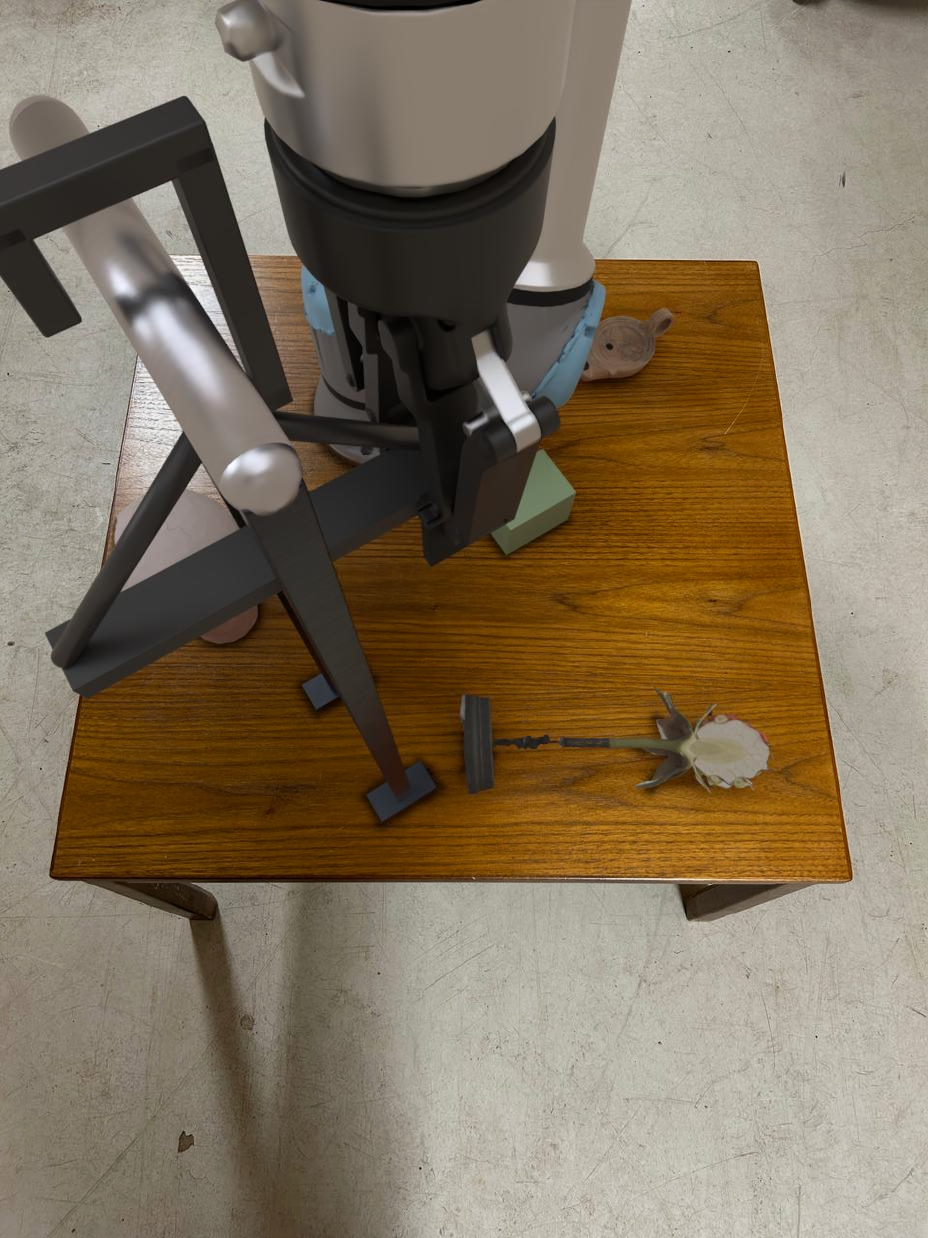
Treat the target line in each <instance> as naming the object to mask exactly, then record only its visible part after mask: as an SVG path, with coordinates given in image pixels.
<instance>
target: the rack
mask: <svg viewBox="0 0 928 1238" xmlns="http://www.w3.org/2000/svg"><path fill="white" fill-rule="evenodd" d="M8 122H9V123H8V130H9V131H8V132H9V137H10V142H11V144H12V146H13V149H14V151H15V153H16V154H17V156H18V158H19V159H20V161H23V160H25V159H28V158H30V157H32V156H35V155H37V154H40V153H42V152H45V151H47V150H50V149H52V148H55V147H57V146H60V145H62V144H65V143H67V142H70V141H72V140H75V139H77V138H79V137H82V136H84V135H87V134H89V133H91V132H90V131H89V130H88V128H87V126H86V124H85V123H84V122H83V120H82V119H81V117H80V116H79V115H78V114H77V113H76V111H75V110H74V109H73V108H72V107H70V106H69V105H68V104H66V103H65V102H63V101H61V100H60V99H57V98H56V97H53V96H50V95H42V94H41V95H40V94H38V95H37V94H36V95H31V96H27V97H25V98H23V99H22V100H20V101H19V102H18V103H17V104H16V106H15V107H14V108H13V110H12V113H11V115H10V116H9V121H8ZM60 229H62V231H63V233H64V235H65V236H66V237H67V240H68V241H69V243H70V245H71V246H72V249H74V251H75V252H76V255H77V257H79V259H80V261H81V263H82V264H83V266H84V267H85V269H86V271H87V273H88V274H89V276H90V278H91V279H92V281H93V283H94V284H95V287H97V289H98V291H99V293H100V295H101V296H102V297H103V299H104V302H106V304H107V306H108V308H109V309H110V312H111V313H112V314H113V315H114V317H115V319H116V322H118V324H119V326H120V328H121V329H122V332H123V333H124V334H125V336H126V337H127V339H128V341H129V343H130V344H131V346H132V348H133V349H134V351H135V353H136V355H137V356H138V357H139V359H140V361H141V363H142V364H143V366H144V368H145V370H146V371H147V372H148V374H149V376H150V378H151V379H152V381H153V383H154V384H155V386H156V388H157V389H158V391H159V392H160V394H161V397H163V399H164V401H165V402H166V404H167V406H168V408H169V409H170V411H171V413H172V414H173V416H174V418H175V419H176V421H177V423H178V425H179V426H180V429H181V430H182V432H183V431H184V433H185V434H186V436H187V437H188V439H189V441H190V442H191V444H192V446H193V447H194V449H195V451H196V452H197V454H198V456H199V457H200V459H201V461H202V463H201V465H202V467H203V469H204V470H205V472H206V474H207V476H208V477H209V479H210V481H211V483H212V484H213V486H214V488H215V489H216V491H217V494H218V495H219V497H220V498H221V501H222V502H223V503H224V505H225V507H226V510H227V511H228V513H229V514H230V515H231V516H232V517H233V519H234V521H235V523H236V525H237V526H238V528H239V529H241V528H242V527H244V526H246V525H247V526H248V528H249V530H250V532H251V534H252V535H253V537H254V539H255V541H256V543H257V545H258V547H259V548H260V550H261V552H262V554H263V556H264V558H265V559H266V561H267V563H268V565H269V567H270V569H271V570H272V572H273V574H274V576H275V578H276V580H277V581H278V583H279V585H280V587H281V589H282V591H281V592H279V593H277V594H275V595H276V596H277V598H278V600H279V602H280V604H281V606H282V607H283V609H284V611H285V612H286V614H287V616H288V618H289V619H290V621H291V623H292V625H293V626H294V628H295V630H296V631H297V633H298V635H299V637H300V639H301V640H302V642H303V644H304V646H305V647H306V649H307V651H308V652H309V654H310V656H311V658H312V659H313V661H314V664H315V665H316V666H317V668H318V671H319V672H320V673H319V674H317V675H316V676H314V677H312V678H310V679H308V680H307V681H305V682H303V683H302V684H301V687H302V689H303V690H304V692H305V694H306V695H307V697H308V699H309V700H310V702H311V704H312V706H313V707H314V709H315V711H316V712H317V713H321V712H322V711H323V710H326V709H327V708H328V707H330V706H332V705H334V704H335V703H337V702H339V701H340V700H341V701H342V703H343V705H344V707H345V709H346V710H347V712H348V714H349V716H350V718H351V719H352V722H353V723H354V725H355V727H356V729H357V731H358V733H359V735H360V736H361V738H362V740H363V741H364V743H365V746H366V747H367V749H368V751H369V753H370V755H371V756H372V758H373V760H374V762H375V764H376V766H377V767H378V769H379V771H380V773H381V775H382V776H383V778H384V780H385V782H383V783H382V784H380V785H378V786H377V787H375V788H374V789H372V790H370V791H369V792H368V793H366V794H365V796H366V798H367V800H368V801H369V803H370V804H371V807H372V808H373V810H374V812H375V813H376V816H377V817H378V819H379V820H380V822H381V823H382V824H384V823H386V822H388V821H389V820H391V819H393V818H394V817H396V816H397V815H399V814H401V813H402V812H404V811H405V810H406V809H408V808H410V807H411V806H413V805H415V804H416V803H417V802H419V801H421V800H422V799H424V798H425V797H427V796H428V795H430V794H432V793H433V792H435V791H436V790H437V789H438V786H437V784H436V782H435V781H434V780H433V778H432V776H431V775H430V773H429V772H428V770H427V768H426V766H425V765H424V763H423V762H422V760H418V761H417V762H415V763H414V764H412V765H410V766H409V767H407V768H405V765H404V763H403V760H402V757H401V755H400V751H399V749H398V746H397V743H396V740H395V738H394V737H395V736H394V733H393V731H392V729H391V726H390V722H389V720H388V717H387V714H386V711H385V709H384V706H383V703H382V700H381V697H380V694H379V691H378V687H377V686H376V682H375V680H374V677H373V674H372V671H371V668H370V665H369V663H368V660H367V659H368V658H367V656H366V653H365V650H364V648H363V645H362V642H361V639H360V637H359V634H358V630H357V628H356V624H355V622H354V619H353V615H352V613H351V610H350V608H349V605H348V602H347V599H346V596H345V593H344V590H343V588H342V585H341V583H340V582H341V581H340V578H339V576H338V573H337V570H336V567H335V564H334V562H333V561H332V558H331V555H330V553H329V550H328V547H327V544H326V541H325V538H324V535H323V532H322V530H321V527H320V524H319V521H318V518H317V515H316V512H315V509H314V506H313V504H312V501H311V498H310V495H309V492H310V491H309V489H308V487H307V484H306V481H305V480H304V469H303V464H302V460H301V458H300V456H299V454H298V452H297V450H296V448H295V447H294V445H293V444H292V441H289V439H288V438H287V436H286V435H285V433H284V431H283V430H282V428H281V427H280V425H279V424H278V422H277V421H276V419H275V418H274V416H273V414H272V413H271V411H270V410H269V408H268V407H267V405H266V404H265V402H264V401H263V399H262V398H261V396H260V394H259V393H258V391H257V390H256V388H255V387H254V385H253V384H252V382H251V381H250V379H249V377H248V376H247V374H246V372H245V370H244V367H243V366H242V364H241V363H240V362H239V361H238V358H236V355H234V353H233V352H232V350H231V348H230V347H229V345H228V344H227V342H226V341H225V339H224V338H223V336H222V334H221V332H220V331H219V330H218V328H217V326H216V325H215V323H214V322H213V320H212V318H211V317H210V316H209V314H208V313H207V311H206V309H205V308H204V306H203V304H201V302H200V301H199V299H198V298H197V295H196V294H195V293H194V291H193V289H192V288H191V286H190V285H189V283H188V282H187V280H186V278H185V277H184V276H183V274H182V273H181V271H180V269H179V268H178V266H177V265H176V263H175V262H174V260H173V258H172V257H171V256H170V254H169V252H168V251H167V249H166V248H165V247H164V245H163V243H162V241H161V240H160V239H159V237H158V236H157V234H156V233H155V231H154V229H153V228H152V227H151V225H150V223H149V222H148V220H147V219H146V217H145V216H144V214H143V212H142V211H141V209H140V208H139V206H138V204H137V203H136V202H135V200H134V198H133V197H132V198H129V199H127V200H125V201H122V202H120V203H118V204H115V205H113V206H111V207H108V208H106V209H104V210H101V211H99V212H97V213H94V214H92V215H90V216H87V217H85V218H83V219H80V220H78V221H75V222H73V223H71V224H68V225H66V226H64V227H61V228H60Z"/></svg>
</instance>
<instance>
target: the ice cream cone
mask: <svg viewBox="0 0 928 1238" xmlns="http://www.w3.org/2000/svg"><path fill="white" fill-rule="evenodd" d="M144 496H145V494H143V495H140V496H139V497H138V498H136V499H135V500H133V501H131V502H130V503H129V504H128V505H127V506H125V507H124V508H123V509H122V510H121V511H119V512H118V514H117V515H116V517H115V520H114V522H113V524H112V527H111V533H112V535H111V540H110V542H111V543H110V546H111V551H112V550H113V548H114V546H115V545H116V543H117V541H118V539H119V538H120V536H121V534H122V533H123V531H124V529H125V528H126V526H127V524H128V523H129V521H130V519H131V518H132V516H133V514H134V513H135V511H136V509H137V508H138V506H139V504H140V503H141V501H142V499H143V497H144ZM237 530H239V528H238V526H237V525H236V523H235V521H234V519H233V517H232V516H231V514H230V512H229V510H228V509H227V508H225V507H224V506H223V505H222V504H221V503H219V502H218V501H217V500H216V499H214V498H212V497H210V496H208V495H207V494H205V493H202V492H199V491H196V490H192V489H189V488H186V489H185V490H184V492H183V493H182V495H181V497H180V498H179V500H178V501H177V503H176V505H175V506H174V508H173V509H172V511H171V512H170V514H169V516H168V517H167V519H166V520H165V522H164V524H163V525H162V527H161V528H160V530H159V531H158V533H157V535H156V536H155V538H154V539H153V541H152V543H151V544H150V546H149V547H148V549H147V550H146V552H145V554H144V555H143V557H142V558H141V560H140V562H139V563H138V565H137V566H136V568H135V569H134V571H133V573H132V574H131V576H130V577H129V579H128V581H127V582H126V584H125V585H124V587H123V588H122V590H121V592H122V591H124V590H126V589H128V588H130V587H132V586H133V585H135V584H137V583H139V582H141V581H143V580H145V579H147V578H148V577H150V576H152V575H154V574H156V573H158V572H160V571H162V570H164V569H165V568H167V567H169V566H171V565H173V564H175V563H177V562H179V561H180V560H182V559H184V558H186V557H188V556H190V555H192V554H194V553H195V552H197V551H199V550H201V549H203V548H205V547H207V546H209V545H210V544H212V543H214V542H216V541H218V540H220V539H222V538H224V537H226V536H227V535H229V534H231V533H233V532H235V531H237ZM258 616H259V613H258V604H257V605H256V606H254V607H252V608H250V609H248V610H247V611H245V612H243V613H241V614H239V615H238V616H236V617H234V618H232V619H230V620H229V621H227V622H225V623H223V624H221V625H220V626H218V627H216V628H214V629H212V630H211V631H209V632H207V633H205V634H203V635H202V636H200V637H199V638H202V640H205V641H207V642H211V643H214V644H218V645H221V644H228V643H234V642H236V641H238V640H239V639H242V638H244V637H245V636H246V635H247V634H248V632H249V631H250V630H251V629H252V628H253V627H254V626H255V624H256V621H257V619H258Z"/></svg>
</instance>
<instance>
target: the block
mask: <svg viewBox="0 0 928 1238" xmlns="http://www.w3.org/2000/svg"><path fill="white" fill-rule="evenodd" d="M576 495H577V492H576V490H575V489H574V487H573V486H572V485H571V484H570V482H569V481H568V480H567V478H566V477H565V475H564V474H563V473H562V472H561V470H560V469H559V468H558V466H557V465H556V464H555V463H554V461H552V459H551V458H550V456H549V455H548V454H547V452H546V451H545V450H544V448H542V449H539V450H537V453H536V456H535V459H534V462H533V465H532V468H531V471H530V474H529V477H528V480H527V483H526V486H525V489H524V492H523V495H522V498H521V501H520V504H519V507H518V510H517V514H516V517H515V519H514V520H512V521H511V522H509V523H507V524H505V525H504V526H502V527H500V528H499V529H497V530H495V531H493V532H492V533H490V535H491V536H492V537H493V539H494V540H495V542H496V543H497V544H498V546H499V547H500V549H501V550H502V552H503V553H504V554H505V555H506V556H509V554H511V553H513V552H515V551H517V550H518V549H520V548H521V547H523V546H525V545H526V544H529V543H530V542H532V541H533V540H536V539H537V538H539V537H540V536H542V535H544V534H546V533H548V532H549V531H550V530H553V529H554V528H555V527H557V526H560V525H561V524H562V523H564V522H566V521H568V520H569V517H570V514H571V510H572V507H573V504H574V501H575V497H576Z"/></svg>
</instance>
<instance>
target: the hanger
mask: <svg viewBox="0 0 928 1238" xmlns="http://www.w3.org/2000/svg"><path fill="white" fill-rule="evenodd" d="M169 182H171V183H172V186H173V188H174V192H175V194H176V196H177V199H178V201H179V204H180V207H181V209H182V211H183V214H184V217H185V219H186V222H187V226H188V227H189V230H190V232H191V236H192V238H193V240H194V243H195V246H196V248H197V251H198V253H199V256H200V258H201V261H202V265H203V266H204V269H205V272H206V274H207V276H208V279H209V282H210V284H211V287H212V289H213V292H214V294H215V297H216V300H217V302H218V305H219V308H220V310H221V313H222V315H223V318H224V321H225V323H226V325H227V328H228V330H229V333H230V336H231V339H232V341H233V343H234V346H235V349H236V351H237V354H238V356H239V359H240V362H241V365H242V368H243V370H244V371H245V373H246V374H247V376H248V377H249V379H250V381H251V382H252V384H253V385H254V387H255V388H256V390H257V391H258V393H259V394H260V396H261V398H262V399H263V401H264V402H265V404H266V405H267V407H268V408H269V410H270V411H271V413H272V414H273V416H274V418H275V419H276V421H277V422H278V424H279V425H280V427H281V428H282V430H283V431H284V433H285V435H286V436H287V438H288V439H289V441H290V442H297V443H298V442H299V443H311V444H312V443H313V444H323V445H324V444H325V445H326V444H335V445H348V446H361V447H374V448H387V449H389V450H387V451H385V452H383V453H381V454H380V455H378V456H376V457H374V458H372V459H370V460H368V461H366V462H365V463H363V464H361V465H359V466H357V467H355V466H354V467H353V468H351V469H349V470H347V471H346V472H344V473H342V474H340V475H338V476H336V477H334V478H333V479H331V480H329V481H327V482H325V483H323V484H321V485H319V486H317V487H316V488H313V489H311V490H310V491H308V492H309V495H310V498H311V501H312V504H313V506H314V509H315V512H316V515H317V518H318V521H319V524H320V527H321V530H322V532H323V535H324V538H325V541H326V544H327V547H328V550H329V553H330V555H331V558H332V561H333V563H335V562H336V561H339V560H340V559H342V558H344V557H345V556H347V555H349V554H351V553H353V552H355V551H357V550H358V549H360V548H362V547H364V546H365V545H368V544H369V543H370V542H373V541H374V540H376V539H377V538H380V537H382V536H383V535H385V534H387V533H389V532H391V531H393V530H394V529H396V528H397V527H399V526H401V525H403V524H405V523H406V522H409V521H410V520H412V519H414V518H415V517H418V514H417V512H416V509H415V508H417V507H419V506H420V500H419V496H420V495H422V494H424V493H426V492H428V486H427V480H426V474H425V469H424V463H423V457H422V451H421V446H420V440H419V434H418V428H417V427H413V426H404V425H396V424H387V423H379V422H370V421H361V420H353V419H344V418H336V417H327V416H318V415H314V414H309V413H301V412H292V411H284V410H279V409H281V408H283V407H285V406H288V405H289V404H291V403H293V402H294V398H293V395H292V392H291V388H290V386H289V385H290V384H289V382H288V379H287V376H286V373H285V369H284V367H283V363H282V360H281V357H280V354H279V351H278V347H277V344H276V341H275V338H274V334H273V331H272V328H271V324H270V322H269V319H268V316H267V312H266V309H265V306H264V302H263V300H262V296H261V293H260V290H259V286H258V284H257V280H256V277H255V274H254V270H253V267H252V264H251V261H250V258H249V254H248V251H247V248H246V244H245V242H244V239H243V238H244V237H243V235H242V232H241V229H240V225H239V222H238V220H237V219H238V218H237V216H236V214H235V210H234V206H233V203H232V200H231V197H230V194H229V191H228V187H227V184H226V181H225V178H224V174H223V171H222V168H221V165H220V162H219V158H218V155H217V153H216V150H215V146H214V143H213V141H212V138H211V134H210V131H209V127H208V124H207V122H206V121H205V119H204V117H203V116H202V115H201V114H200V112H199V110H198V109H197V108H196V106H195V105H194V103H193V102H192V101H191V100H190V98H189V97H188V96H187V95H181V96H178V97H176V98H173V99H171V100H169V101H166V102H164V103H161V104H159V105H157V106H154V107H151V108H149V109H146V110H144V111H142V112H139V113H137V114H134V115H131V116H129V117H127V118H124V119H122V120H119V121H118V122H117V121H116V122H114V123H112V124H110V125H107V126H105V127H104V126H103V127H102V128H99V129H97V130H95V131H92V132H90V133H89V134H87V135H84V136H82V137H79V138H77V139H75V140H72V141H70V142H67V143H65V144H62V145H60V146H57V147H55V148H52V149H50V150H47V151H45V152H42V153H40V154H37V155H35V156H32V157H30V158H28V159H25V160H23V161H21V160H20V161H18V162H16V163H13V164H11V165H8V166H5V167H3V168H1V169H0V279H1V280H2V281H3V283H4V284H5V285H6V287H7V288H8V290H9V291H10V293H11V294H12V295H13V296H14V298H15V299H16V301H17V302H18V304H19V305H20V307H22V309H23V311H24V312H25V313H26V314H27V316H28V317H29V319H30V320H31V321H32V323H33V324H34V326H35V327H36V328H37V329H38V331H39V332H40V334H41V335H42V336H43V337H45V338H47V339H48V338H51V337H53V336H56V335H58V334H60V333H62V332H64V331H67V330H69V329H70V328H73V327H76V326H77V325H79V324H81V323H82V322H83V318H82V315H81V314H80V312H79V310H78V309H77V307H76V305H75V304H74V301H73V300H72V298H71V296H70V295H69V293H68V292H67V290H66V289H65V287H64V286H63V284H62V283H61V280H60V279H59V278H58V276H57V274H56V273H55V271H54V270H53V268H52V267H51V264H50V263H49V261H48V260H47V259H46V257H45V255H44V254H43V252H42V250H41V249H40V247H39V246H38V244H37V243H36V241H35V239H38V238H40V237H43V236H45V235H47V234H50V233H52V232H54V231H58V230H60V229H62V228H61V227H64V226H66V225H68V224H71V223H73V222H75V221H78V220H80V219H83V218H85V217H87V216H90V215H92V214H94V213H97V212H99V211H101V210H104V209H106V208H108V207H111V206H113V205H115V204H118V203H120V202H122V201H125V200H127V199H129V198H132V199H133V198H134V197H136V196H139V195H141V194H143V193H146V192H148V191H150V190H153V189H155V188H158V187H160V186H163V185H165V184H167V183H169ZM201 465H202V461H201V459H200V457H199V456H198V454H197V452H196V451H195V449H194V447H193V446H192V444H191V442H190V441H189V439H188V437H187V436H186V434H185V433H184V431H183V430H182V432H181V434H180V435H179V436H178V439H177V440H176V442H175V443H174V445H173V447H172V448H171V451H170V452H169V454H168V455H167V457H166V459H165V461H164V462H163V464H162V465H161V468H160V469H159V471H158V472H157V473H156V476H155V477H154V479H153V481H152V482H151V484H150V486H149V487H148V489H147V491H146V493H144V495H145V496H144V497H143V499H142V501H141V503H140V504H139V506H138V508H137V509H136V511H135V513H134V514H133V516H132V518H131V519H130V521H129V523H128V524H127V526H126V528H125V529H124V531H123V533H122V534H121V536H120V538H119V539H118V541H117V543H116V545H115V546H114V548H113V550H112V549H111V551H110V553H109V554H108V556H107V558H106V560H105V561H104V563H103V565H102V566H101V567H100V570H99V571H98V573H97V575H96V577H95V578H94V580H93V581H92V583H91V585H90V586H89V588H88V589H87V592H86V593H85V594H84V596H83V598H82V600H81V602H80V604H79V605H78V607H77V609H76V610H75V611H74V614H73V615H72V616H71V618H70V619H68V620H66V621H64V622H62V623H60V624H59V625H56V626H55V627H53V628H51V629H48V630H47V631H45V632H44V635H45V637H46V639H47V641H48V643H49V645H50V648H51V653H50V661H51V662H52V664H53V666H55V667H57V668H60V669H61V670H62V672H63V674H64V676H65V679H66V681H67V683H68V684H69V687H70V688H71V691H72V692H74V693H75V694H77V695H79V696H81V697H83V698H84V699H87V700H88V699H90V698H92V697H94V696H96V695H98V694H99V693H101V692H103V691H105V690H106V689H108V688H110V687H112V686H114V685H116V684H117V683H119V682H120V681H123V680H124V679H126V678H128V677H130V676H132V675H134V674H135V673H137V672H138V671H140V670H141V671H142V669H144V668H146V667H148V666H150V665H151V664H153V663H155V662H157V661H158V660H161V659H162V658H164V657H165V656H168V655H169V654H171V653H173V652H174V651H176V650H178V649H180V648H181V647H183V646H184V647H185V646H186V645H187V644H189V643H191V642H192V641H195V640H196V639H198V638H201V637H200V636H202V635H203V634H205V633H207V632H209V631H211V630H212V629H214V628H216V627H218V626H220V625H221V624H223V623H225V622H227V621H229V620H230V619H232V618H234V617H236V616H238V615H239V614H241V613H243V612H245V611H247V610H248V609H250V608H252V607H254V606H256V605H257V606H258V605H259V604H261V603H263V602H265V601H266V600H268V599H270V598H272V597H274V596H275V595H276V594H277V593H279V592H281V591H282V589H281V587H280V585H279V583H278V581H277V580H276V578H275V576H274V574H273V572H272V570H271V569H270V567H269V565H268V563H267V561H266V559H265V558H264V556H263V554H262V552H261V550H260V548H259V547H258V545H257V543H256V541H255V539H254V537H253V535H252V534H251V532H250V530H249V528H248V526H247V525H246V526H244V527H242V528H241V529H239V530H237V531H235V532H233V533H231V534H229V535H227V536H226V537H224V538H222V539H220V540H218V541H216V542H214V543H212V544H210V545H209V546H207V547H205V548H203V549H201V550H199V551H197V552H195V553H194V554H192V555H190V556H188V557H186V558H184V559H182V560H180V561H179V562H177V563H175V564H173V565H171V566H169V567H167V568H165V569H164V570H162V571H160V572H158V573H156V574H154V575H152V576H150V577H148V578H147V579H145V580H143V581H141V582H139V583H137V584H135V585H133V586H132V587H130V588H128V589H126V590H124V591H122V592H121V590H122V588H123V587H124V585H125V584H126V582H127V581H128V579H129V577H130V576H131V574H132V573H133V571H134V569H135V568H136V566H137V565H138V563H139V562H140V560H141V558H142V557H143V555H144V554H145V552H146V550H147V549H148V547H149V546H150V544H151V543H152V541H153V539H154V538H155V536H156V535H157V533H158V531H159V530H160V528H161V527H162V525H163V524H164V522H165V520H166V519H167V517H168V516H169V514H170V512H171V511H172V509H173V508H174V506H175V505H176V503H177V501H178V500H179V498H180V497H181V495H182V493H183V492H184V490H185V489H187V487H188V486H189V484H190V482H191V481H192V479H193V478H194V476H195V474H196V473H197V472H198V470H199V468H200V467H201Z"/></svg>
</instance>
